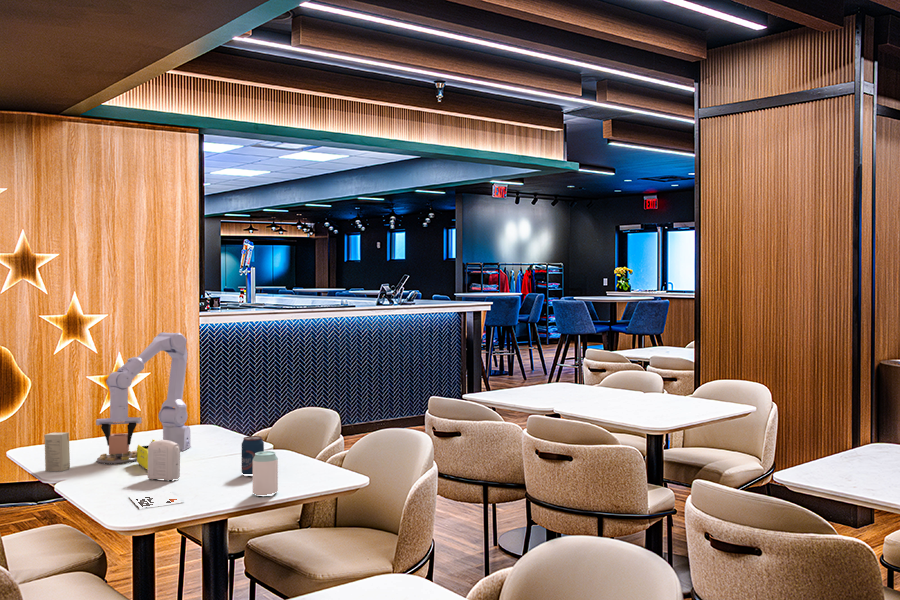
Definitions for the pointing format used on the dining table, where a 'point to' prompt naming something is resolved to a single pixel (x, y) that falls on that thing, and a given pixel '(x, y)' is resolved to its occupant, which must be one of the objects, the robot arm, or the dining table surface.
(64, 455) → the skincare box
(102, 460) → the hub
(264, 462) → the can
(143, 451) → the yellow toy chassis
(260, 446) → the soda can
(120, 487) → the dining table surface
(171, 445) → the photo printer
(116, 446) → the pink square tube
